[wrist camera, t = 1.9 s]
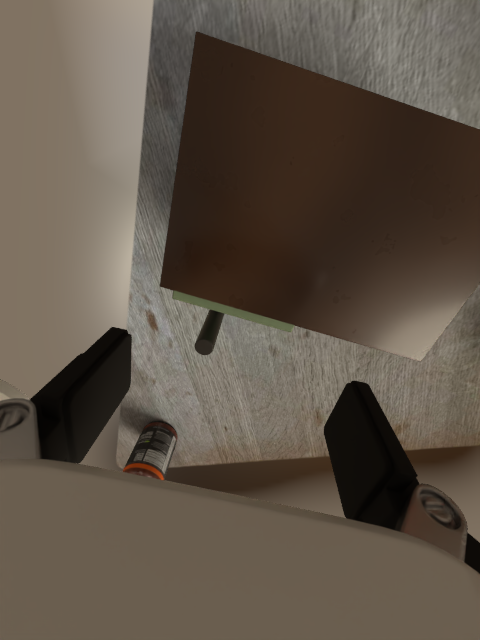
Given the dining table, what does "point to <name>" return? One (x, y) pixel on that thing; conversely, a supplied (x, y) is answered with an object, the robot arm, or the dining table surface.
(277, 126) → the cabinet
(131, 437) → the dining table surface
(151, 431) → the supplement bottle
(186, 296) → the door
